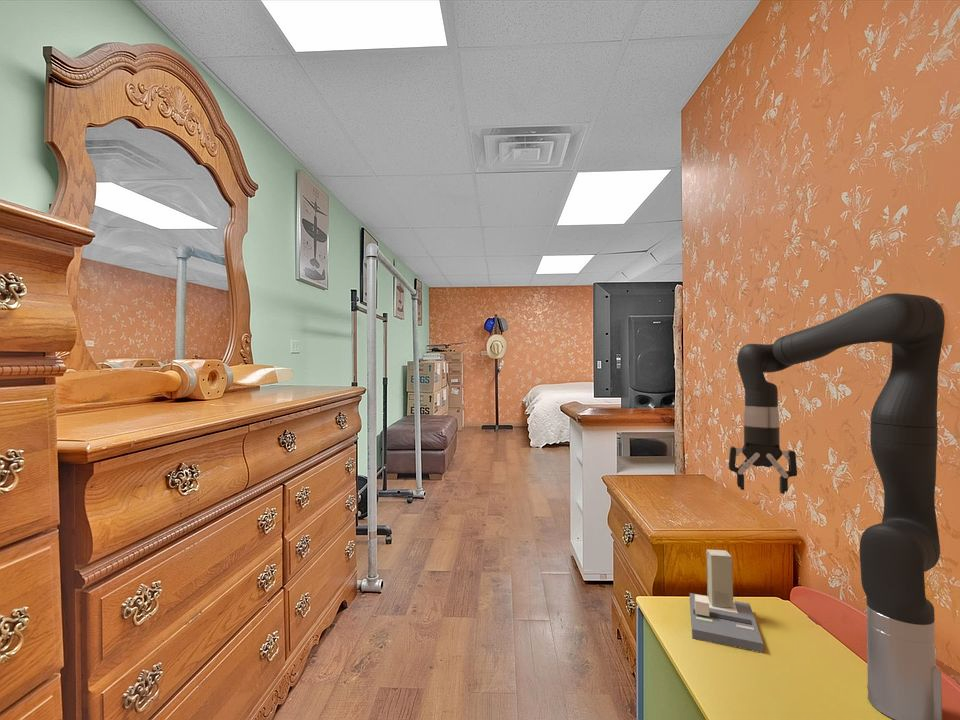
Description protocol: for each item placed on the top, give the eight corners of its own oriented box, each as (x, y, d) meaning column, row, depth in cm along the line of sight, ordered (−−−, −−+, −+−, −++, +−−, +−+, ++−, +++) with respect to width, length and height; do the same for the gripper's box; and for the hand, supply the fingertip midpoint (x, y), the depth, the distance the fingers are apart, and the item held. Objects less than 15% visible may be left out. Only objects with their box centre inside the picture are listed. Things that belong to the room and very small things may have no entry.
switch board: (749, 611, 120) (749, 602, 120) (763, 653, 101) (763, 642, 102) (689, 600, 125) (689, 592, 125) (692, 638, 107) (692, 628, 107)
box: (727, 600, 121) (727, 550, 121) (733, 608, 117) (733, 556, 117) (705, 598, 122) (705, 548, 122) (710, 606, 117) (710, 554, 118)
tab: (708, 608, 116) (708, 596, 116) (709, 616, 112) (709, 603, 112) (694, 606, 117) (694, 594, 117) (695, 613, 113) (695, 601, 113)
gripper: (730, 424, 115) (730, 491, 114) (799, 427, 109) (800, 498, 109) (727, 422, 122) (727, 485, 121) (791, 425, 116) (792, 491, 116)
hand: (761, 491), depth 115 cm, fingers open, 8 cm apart
